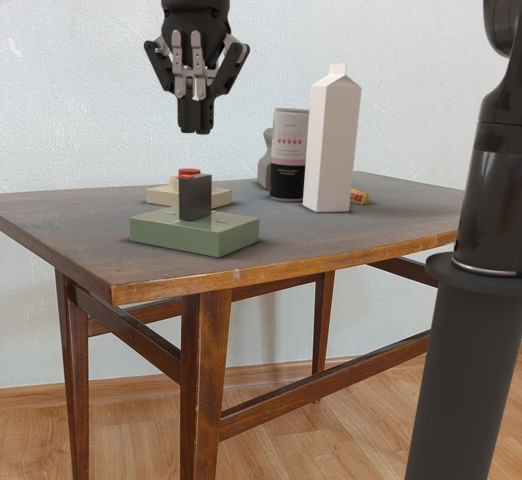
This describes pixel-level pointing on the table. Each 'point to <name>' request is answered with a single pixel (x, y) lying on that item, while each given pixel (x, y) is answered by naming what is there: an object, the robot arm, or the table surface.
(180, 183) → the dark grey square slab
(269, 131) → the grey irregular figure
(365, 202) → the chocolate bar
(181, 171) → the power button
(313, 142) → the milk
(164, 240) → the green flat block
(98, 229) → the table surface
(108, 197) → the table surface
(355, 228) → the table surface
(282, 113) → the beverage can
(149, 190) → the base
